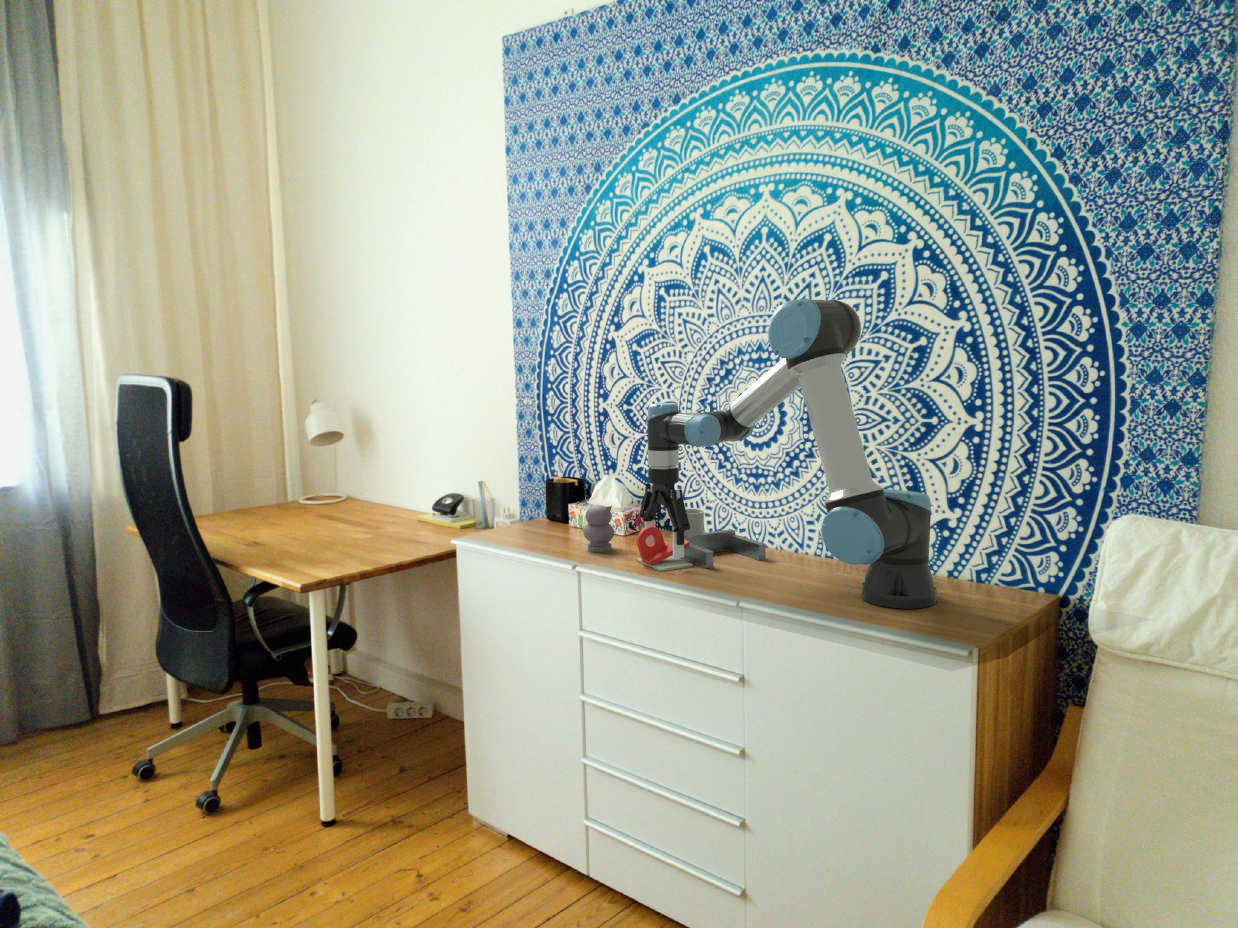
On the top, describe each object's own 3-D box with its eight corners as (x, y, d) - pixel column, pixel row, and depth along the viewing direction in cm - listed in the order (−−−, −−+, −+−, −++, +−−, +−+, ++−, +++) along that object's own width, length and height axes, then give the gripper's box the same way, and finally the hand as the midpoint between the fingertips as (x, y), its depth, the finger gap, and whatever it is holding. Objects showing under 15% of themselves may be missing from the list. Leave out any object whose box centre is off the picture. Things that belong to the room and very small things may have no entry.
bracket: (651, 565, 213) (642, 536, 211) (642, 561, 217) (633, 533, 215) (691, 545, 218) (683, 516, 216) (681, 542, 222) (673, 513, 220)
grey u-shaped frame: (765, 559, 220) (765, 539, 219) (706, 568, 212) (706, 548, 211) (721, 544, 237) (721, 526, 236) (665, 552, 229) (664, 533, 228)
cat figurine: (577, 549, 233) (576, 505, 232) (597, 544, 239) (596, 501, 237) (601, 554, 228) (600, 508, 226) (621, 548, 234) (620, 504, 232)
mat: (692, 566, 214) (692, 564, 214) (660, 571, 210) (660, 568, 210) (667, 556, 225) (667, 554, 224) (636, 560, 220) (636, 558, 220)
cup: (709, 543, 238) (709, 511, 237) (682, 549, 232) (682, 516, 231) (690, 539, 244) (690, 507, 242) (664, 545, 237) (663, 512, 236)
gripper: (704, 471, 205) (704, 560, 208) (651, 459, 227) (652, 540, 229) (676, 474, 201) (677, 564, 204) (625, 462, 223) (626, 543, 226)
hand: (664, 552), depth 217 cm, fingers open, 13 cm apart
